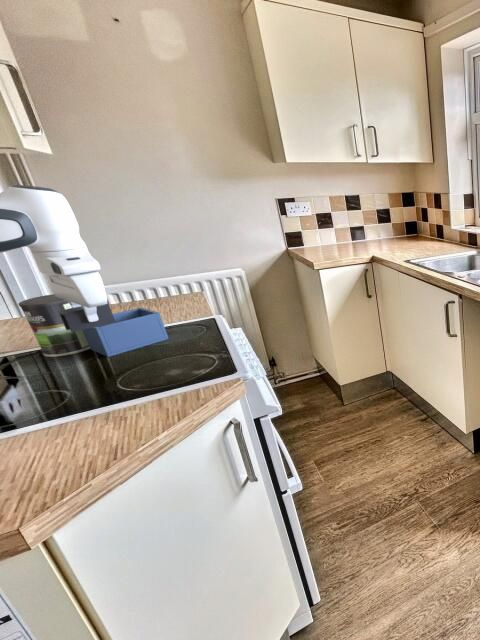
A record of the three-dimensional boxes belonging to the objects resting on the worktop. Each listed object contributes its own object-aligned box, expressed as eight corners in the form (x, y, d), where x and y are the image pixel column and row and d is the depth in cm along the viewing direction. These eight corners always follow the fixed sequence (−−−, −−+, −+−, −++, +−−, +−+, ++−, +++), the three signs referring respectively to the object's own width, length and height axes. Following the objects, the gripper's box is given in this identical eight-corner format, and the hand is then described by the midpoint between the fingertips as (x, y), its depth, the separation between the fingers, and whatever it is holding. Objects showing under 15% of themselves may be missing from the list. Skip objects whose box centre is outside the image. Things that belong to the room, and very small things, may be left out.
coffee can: (60, 359, 107) (34, 306, 101) (34, 354, 109) (8, 303, 104) (106, 343, 116) (85, 294, 110) (81, 340, 118) (59, 291, 113)
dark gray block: (72, 332, 97) (64, 313, 95) (66, 329, 98) (57, 310, 97) (115, 322, 103) (108, 304, 102) (108, 319, 105) (102, 301, 103)
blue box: (108, 357, 107) (96, 328, 104) (90, 349, 112) (78, 322, 109) (168, 338, 118) (159, 312, 115) (150, 332, 123) (141, 307, 120)
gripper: (28, 259, 97) (53, 316, 102) (63, 268, 88) (89, 330, 93) (65, 255, 102) (87, 309, 107) (102, 263, 93) (124, 322, 98)
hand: (88, 319), depth 100 cm, fingers closed on dark gray block, 4 cm apart
